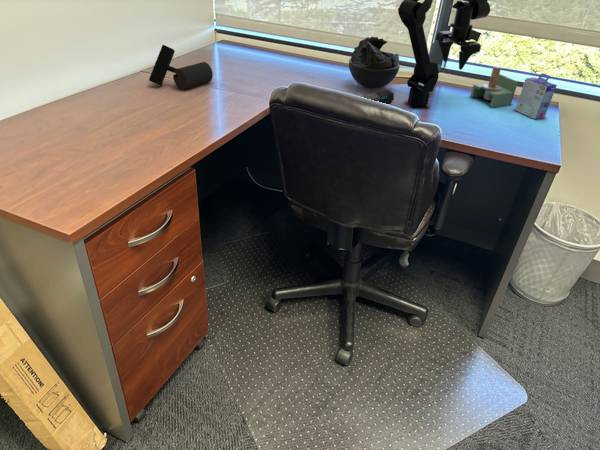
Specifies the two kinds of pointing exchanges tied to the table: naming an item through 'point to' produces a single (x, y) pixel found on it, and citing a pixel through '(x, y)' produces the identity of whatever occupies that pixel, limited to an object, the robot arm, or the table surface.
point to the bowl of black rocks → (373, 64)
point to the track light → (180, 71)
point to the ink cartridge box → (535, 97)
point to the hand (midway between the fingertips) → (452, 65)
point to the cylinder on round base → (492, 83)
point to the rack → (500, 96)
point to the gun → (382, 96)
